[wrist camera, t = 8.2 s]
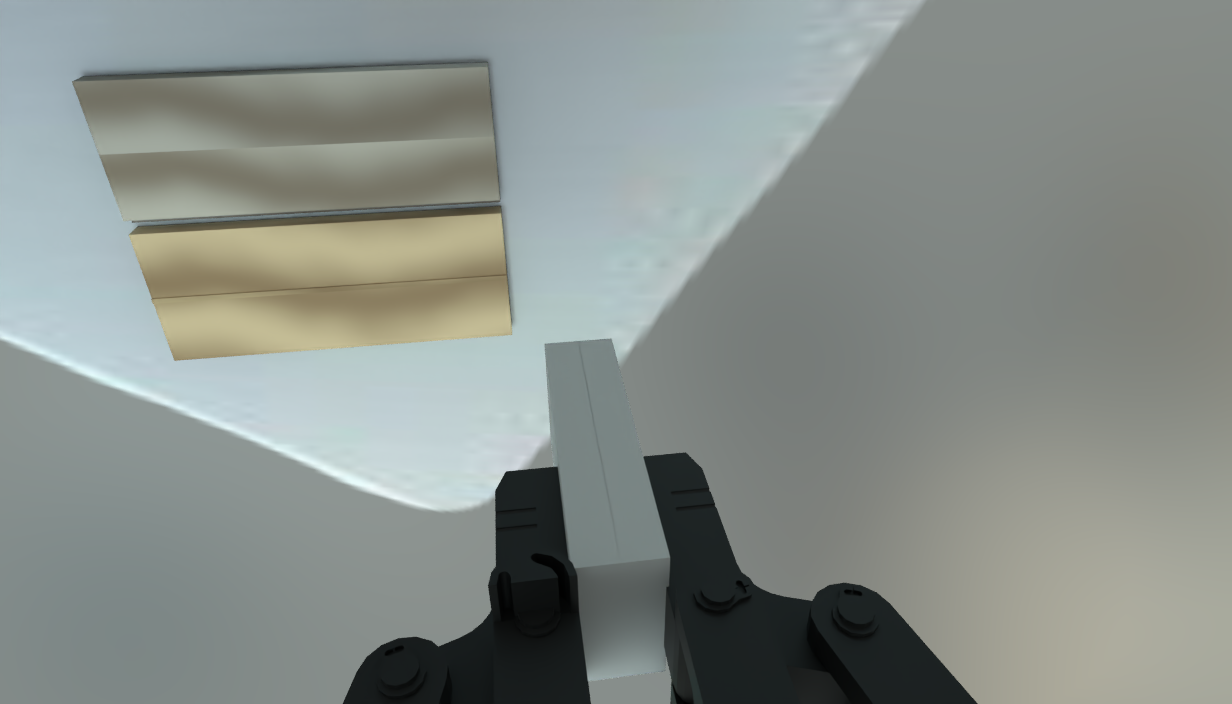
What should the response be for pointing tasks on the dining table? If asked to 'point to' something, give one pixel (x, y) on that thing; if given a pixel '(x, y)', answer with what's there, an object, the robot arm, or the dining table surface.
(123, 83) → the laid floor
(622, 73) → the dining table surface
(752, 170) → the dining table surface
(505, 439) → the dining table surface
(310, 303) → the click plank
